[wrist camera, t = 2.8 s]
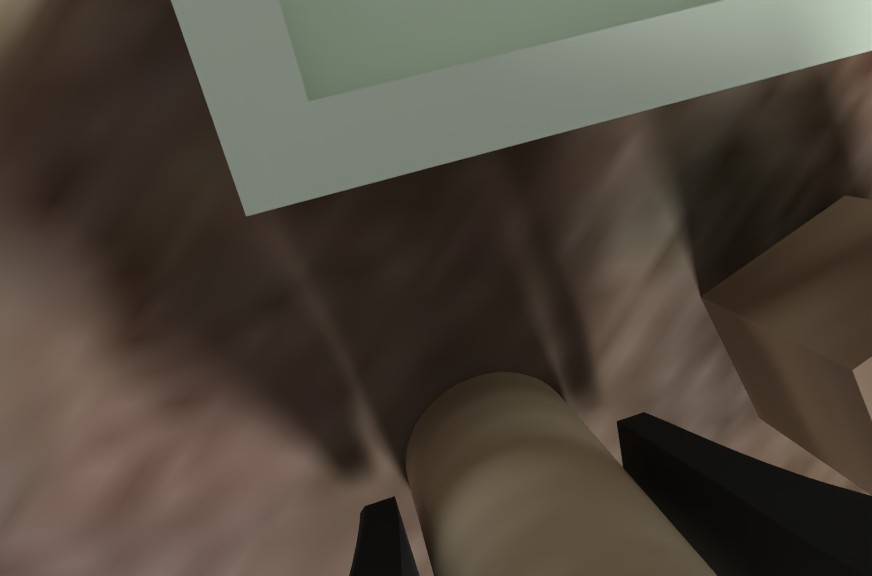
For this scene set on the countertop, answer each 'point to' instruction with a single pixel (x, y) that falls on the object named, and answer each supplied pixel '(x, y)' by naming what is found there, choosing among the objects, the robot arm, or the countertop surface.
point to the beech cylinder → (531, 490)
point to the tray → (469, 75)
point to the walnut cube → (808, 335)
